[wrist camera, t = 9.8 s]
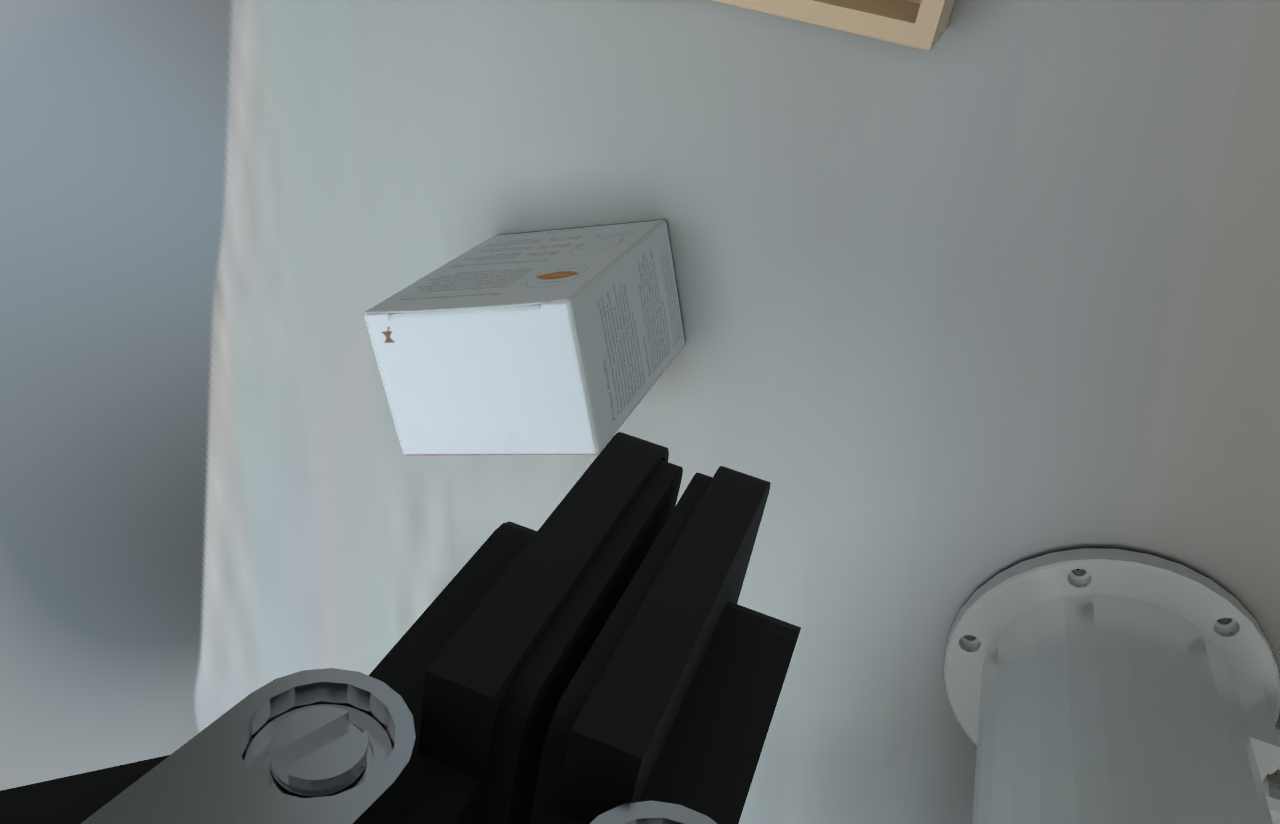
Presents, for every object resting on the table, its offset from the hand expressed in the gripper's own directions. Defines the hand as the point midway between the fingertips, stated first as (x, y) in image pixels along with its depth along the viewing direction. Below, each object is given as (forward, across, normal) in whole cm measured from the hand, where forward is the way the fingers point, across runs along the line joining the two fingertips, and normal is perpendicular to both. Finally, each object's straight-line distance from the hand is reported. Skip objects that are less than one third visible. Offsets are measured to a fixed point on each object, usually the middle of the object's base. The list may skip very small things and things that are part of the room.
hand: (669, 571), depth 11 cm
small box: (+29, +11, +10) cm, 33 cm away
